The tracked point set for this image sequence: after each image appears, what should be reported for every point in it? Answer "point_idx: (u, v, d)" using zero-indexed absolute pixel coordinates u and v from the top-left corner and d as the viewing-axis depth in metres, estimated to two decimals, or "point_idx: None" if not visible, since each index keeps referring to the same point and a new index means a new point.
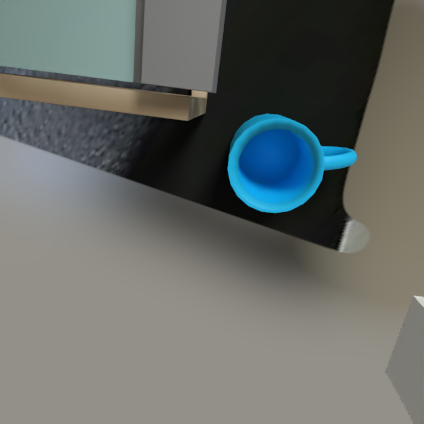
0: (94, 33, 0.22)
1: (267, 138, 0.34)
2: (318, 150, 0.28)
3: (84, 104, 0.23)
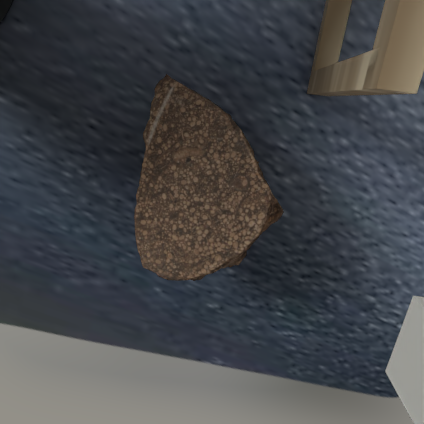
0: None
1: None
2: None
3: None
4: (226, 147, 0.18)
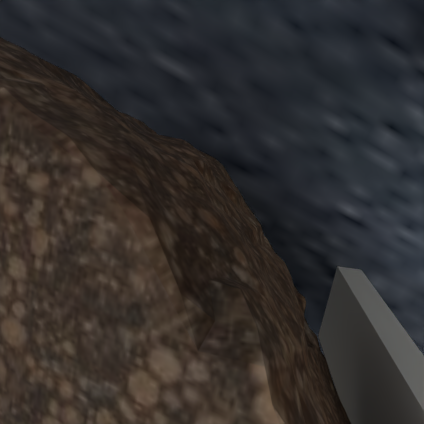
0: None
1: None
2: None
3: None
4: None
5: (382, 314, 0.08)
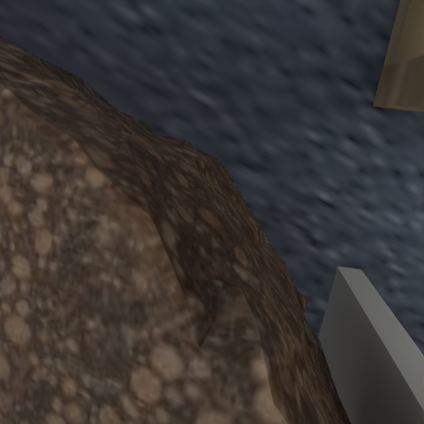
0: None
1: None
2: None
3: None
4: None
5: (382, 314, 0.08)
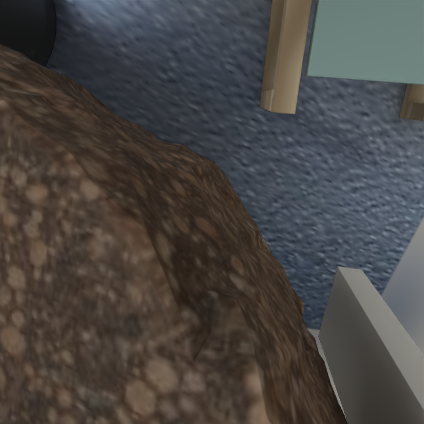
0: None
1: None
2: None
3: None
4: None
5: (382, 314, 0.08)
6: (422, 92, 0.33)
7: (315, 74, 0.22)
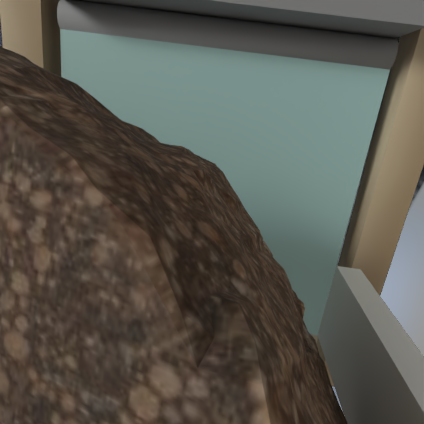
0: (299, 135, 0.13)
1: None
2: None
3: (417, 166, 0.12)
4: None
5: (381, 314, 0.08)
6: None
7: None
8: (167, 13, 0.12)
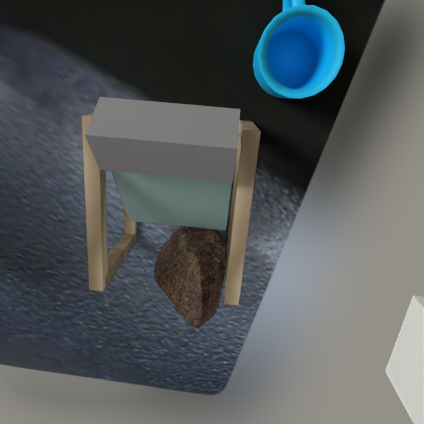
0: (204, 186, 0.34)
1: (274, 63, 0.38)
2: (286, 13, 0.31)
3: (248, 208, 0.32)
4: None
5: None
6: None
7: (134, 221, 0.42)
8: None
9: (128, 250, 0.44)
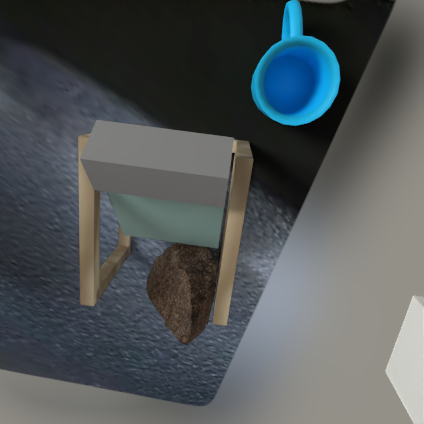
0: (197, 208, 0.34)
1: (272, 86, 0.39)
2: (283, 43, 0.31)
3: (239, 232, 0.32)
4: None
5: None
6: None
7: (127, 235, 0.42)
8: None
9: (121, 263, 0.45)
